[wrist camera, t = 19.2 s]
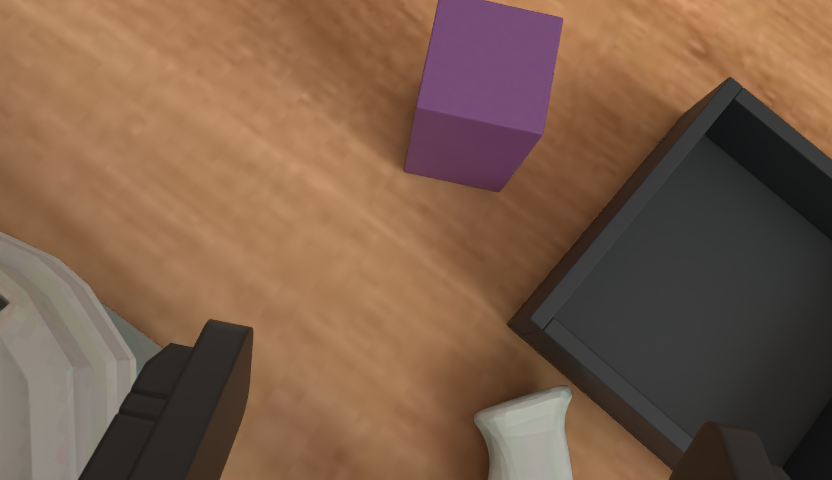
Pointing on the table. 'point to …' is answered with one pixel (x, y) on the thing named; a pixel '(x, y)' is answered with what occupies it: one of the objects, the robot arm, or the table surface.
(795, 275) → the tray
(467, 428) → the table surface
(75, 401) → the disposable coffee cup
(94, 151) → the table surface
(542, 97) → the plum block
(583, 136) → the table surface
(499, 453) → the tape dispenser
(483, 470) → the table surface
